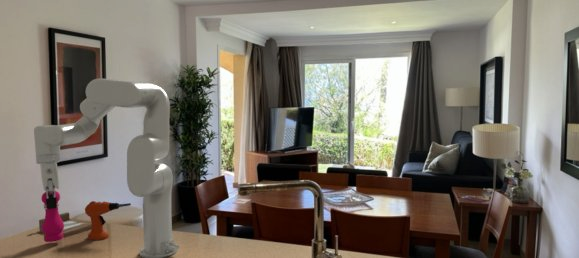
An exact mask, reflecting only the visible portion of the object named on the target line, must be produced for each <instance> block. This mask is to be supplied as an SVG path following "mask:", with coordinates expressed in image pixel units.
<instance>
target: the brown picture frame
mask: <svg viewBox="0 0 579 258" xmlns="http://www.w3.org/2000/svg"><path fill="white" fill-rule="evenodd" d="M59 216H60V217H61V219H62V221H63V223H64V229H63V230H62V233H63V238H62V239H65V238H68V237H70V236H71V237H72V236H73V235H77V234H80V233H83V232H86V231H88V230H91V228H92V223H91V224H90V223H86V222H82V221H77V220H72V219H71V218H70V212H63V213H60V214H59ZM44 219H45V218H42V219H39V220H38V224H39V225H38V226H39V232H40V233H43V232H42V224H43V222H44Z"/></svg>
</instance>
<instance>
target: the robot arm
mask: <svg viewBox="0 0 579 258" xmlns="http://www.w3.org/2000/svg"><path fill="white" fill-rule="evenodd" d="M85 96H86V98H85V99H84V100H82V101H81V102H80V105H79V110H80V112H81V113H82V116H81V117H80V118H79V119H78V120H77V121H76V122H74V123H66V124H57V125H55V124H47V125H45V124H43V125H36V126H35V127H34V130H33V135H34V136H33V137H34V147H35V148H34V149H35V151H34V152H35V162H36V164H37V165H39V166H40V174H41V175H40V176H41V182H42V187H43V190H44V192H46V195H47V198H46V206H47V209H54V208H57V201H56V197H55V191H56V189H57V190H60V183H59V182H60V180H59V169H58V163H59V162H61V158H60V147H61V146H62V147H63V146H68V145H69V146H70V145H73V144H74V145H75V144H79V143H81V142H84V141H85V140H87V139H88V138H89V137H91V136H92V134H93V133H95V132H96V131H97V129H99V125H100V124H101V120H102V119H103V118H104V117H105V116H107V114H109V112H111V111H112V110H113V109H114V108H115V107H116V108H118V107H119V108H132V109H133V108H145V109H146V111H145V113H144V116H143V121H142V122H143V123H142V124H143V131H142V134H140V135H137V136H135V137H134V138H132V139H131V140H130V142H129V144H128V147H127V149H126V183H127V187H128V189H129V192H130V193H131V194H132V195H134V196H135V197H138V198H142V223H143V224H142V225H143V227H142V228H143V230H142V231H143V246H142V247H141V249H139V256H140V257H142V258H167V257H170V256H172V255H174V254H175V253H177V252H178V249H180V244H175V239H174V238H173V226H172V224H173V223H172V221H173V220H172V191H173V190H172V189H173V182H174V176H173V175H174V174H173V171H172V169H171V168H170V167H169V166H168V165H167V164H165V163H162V162H156V161H160V160H162V159H164V158H166V157H167V156H168V155H169V151H170V112H171V111H170V109H171V103H170V102H171V101H170V99H169V96H168V94H167V92H166V91H165V90H164V89H163V88H162V87H160V86H159V85H157V84H154V83H150V82H143V81H125V80H124V81H123V80H117V79H115V78H95V79H92V80H91V81H90V82H88V83H87V85H86V87H85ZM48 188H49V190H48Z"/></svg>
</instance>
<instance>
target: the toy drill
mask: <svg viewBox="0 0 579 258" xmlns="http://www.w3.org/2000/svg"><path fill="white" fill-rule="evenodd" d="M130 206H132V204H131V203H130V202H129V203H119V202H109V201H102V202H101V201H93V200H92V201H90V202H89V203H88V204H87V205H86V206H85V208H84V212H85V214H86V215H87V217H89V218H90V222H91V224H92V228H91V229H90V232H88V234H87V239H88V240H91V241H94V240H95V241H101V240H102V241H103V240H106V239H108V238H109V236H110V233H107V232H106V231H104V227H103V226H104V225H105V224H106V223H107V221H106V220H105V218H104V217H103V216H102V215H104V214H107V213H108V212H112V211H114V210H118V209H120V208H122V207H130Z"/></svg>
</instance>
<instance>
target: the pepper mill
mask: <svg viewBox="0 0 579 258" xmlns="http://www.w3.org/2000/svg"><path fill="white" fill-rule="evenodd" d="M47 190H49V188H48V189H47ZM55 197H56V201H57V208H54V209H47V206H46V198H47V195H46V191H44V193H43V194H42V195H41V198H40V199H41V201H42V203H43V209H44V210H45V216H44V218H43V219H44V222H43V224H42V232H41V233H43V234H44V235H43V241H44V242H46V243H54V242H57V241H58V242H59V241H60V240H62V239H64V238H63V233H62V230H63V229H64V223H63V221H62V219H61V217H60V216H59V207H60V202H59V201H60V200H61V194H60V193H59V192H58V191H57V190H55Z"/></svg>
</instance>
